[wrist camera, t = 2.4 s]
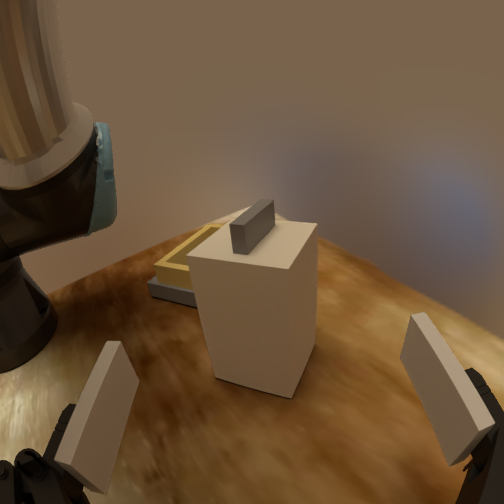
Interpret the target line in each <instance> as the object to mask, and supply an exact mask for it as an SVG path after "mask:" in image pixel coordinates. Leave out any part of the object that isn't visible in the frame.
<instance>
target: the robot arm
mask: <svg viewBox="0 0 504 504" xmlns="http://www.w3.org/2000/svg"><path fill="white" fill-rule="evenodd" d="M113 172H114V169H113V154H112V144H111V136H110V129H109V126H108V124H106V123H99V122H96V123H93V119H92V116H91V114H90V112H89V110H88V109H87V108H86V107H84V106H82V105H80V104H78V103H75V102H72V98H71V93H70V88H69V83H68V78H67V73H66V68H65V62H64V56H63V50H62V43H61V37H60V29H59V20H58V10H57V0H0V372H3V371H7V370H10V369H12V368H15V367H17V366H19V365H21V364H22V363H24V362H26V361H27V360H29V359H30V358H31V357H33V356H34V355H35V354H36V353H37V352H38V351H39V350H40V349H41V348H42V347H43V346H44V345H45V344H46V343H47V342H48V340H49V339H50V337H51V336H52V334H53V332H54V330H55V327H56V324H57V314H56V312H55V310H54V307H53V305H52V303H51V301H50V299H49V298H48V296H47V295H46V294H45V293H44V292H43V291H42V290H41V289H40V287H39V286H38V285H37V284H36V283H35V281H34V280H33V279H32V278H31V277H30V275H29V274H28V273H27V272H26V270H25V269H24V267H23V265H22V262H21V260H20V257H19V256H20V255H22V254H25V253H28V252H31V251H35V250H38V249H41V248H45V247H48V246H51V245H55V244H58V243H62V242H65V241H68V240H72V239H76V238H79V237H83V236H84V237H86V236H89V235H90V234H91V233H93V232H96V231H98V230H102V229H104V228H107V227H109V226H111V225H112V224H113V222H114V221H115V219H116V216H117V198H116V188H115V178H114V174H113ZM400 359H401V361H402V363H403V365H404V367H405V369H406V371H407V373H408V375H409V377H410V379H411V381H412V383H413V386H414V388H415V390H416V392H417V394H418V396H419V398H420V400H421V403H422V405H423V407H424V409H425V411H426V413H427V416H428V418H429V420H430V422H431V425H432V427H433V429H434V432H435V434H436V436H437V439H438V441H439V443H440V446H441V448H442V451H443V453H444V456H445V458H446V461H447V463H448V466H449V467H450V466H452V465H455V464H457V463H459V462H461V461H464V460H465V459H466V458H467V457H468V456H469V454H470V453H471V455H472V457H473V459H472V460H471V461H470V462H469V463H468V464H467V465H466V466H465V467H464V469H463V471H465V470H466V469H467V468H468V467H469V468H468V471H467V474H466V477H465V480H464V482H463V485H462V488H461V491H460V493H459V496H458V498H457V501H456V503H455V504H504V411H503V410H502V408H501V406H500V404H499V403H498V401H497V399H496V398H495V396H494V395H493V393H491V390H490V388H489V386H488V385H486V384H487V383H486V382H485V380H484V379H483V377H482V376H481V374H480V373H478V372H477V371H476V370H474V369H473V368H469V369H466V370H464V369H463V367H462V366H461V364H460V363H459V361H458V360H457V358H456V357H455V355H454V354H453V352H452V351H451V349H450V348H449V346H448V345H447V343H446V342H445V340H444V339H443V337H442V336H441V334H440V333H439V331H438V330H437V328H436V327H435V326H434V324H433V323H432V321H431V320H430V319H429V317H428V316H427V314H426V313H425V312H422V313H417V314H411V316H410V320H409V324H408V329H407V333H406V337H405V340H404V344H403V348H402V352H401V355H400ZM138 384H139V379H138V377H137V375H136V373H135V371H134V369H133V367H132V364H131V362H130V360H129V358H128V356H127V354H126V352H125V349H124V347H123V345H122V343H121V341H107V342H106V344H105V346H104V348H103V350H102V352H101V354H100V356H99V358H98V360H97V362H96V364H95V366H94V368H93V370H92V372H91V374H90V376H89V378H88V381H87V383H86V385H85V387H84V389H83V391H82V394H81V396H80V398H79V400H78V403H77V405H76V404H69V405H68V406H67V407H66V408H65V409H64V410H63V411H62V413H61V416H60V418H59V420H58V423H57V425H56V427H55V431H53V434H52V436H51V438H50V441H49V443H48V446H47V448H46V451H45V453H44V455H43V457H42V456H41V455H40V454H39V453H38V452H36V451H35V450H34V449H30V448H27V449H23V450H22V451H20V452H19V453H18V454H17V456H16V458H15V461H14V466H13V465H12V464H11V463H10V462H8V461H7V460H1V461H0V504H90V503H89V501H88V499H87V497H86V495H85V493H84V492H83V491H82V490H83V487H84V486H85V487H86V488H88V489H89V490H90V491H93V492H96V493H100V494H105V495H107V492H108V488H109V484H110V480H111V476H112V472H113V468H114V465H115V461H116V457H117V454H118V450H119V447H120V443H121V440H122V436H123V433H124V429H125V426H126V423H127V419H128V416H129V413H130V409H131V406H132V403H133V400H134V397H135V394H136V390H137V387H138Z"/></svg>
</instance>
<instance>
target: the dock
mask: <svg viewBox="0 0 504 504" xmlns="http://www.w3.org/2000/svg"><path fill="white" fill-rule="evenodd" d="M223 226H224V225H216V224H208V225H207V226H205V227H204V228H203V229H201V230H200V231H198V232H197V233H196V234H194V235H193V236H192V237H190V238H189V239H187V240H186V241H185V242H183V243H182V244H181V245H179V246H178V247H177V248H175V249H174V250H173V251H171V252H170V253H168V254H167V255H166V256H164V257H163V258H162V259H160V260H159V261H158V262H156V263H155V264H154V268H155V272H156V276H155V277H153V278H152V279H151V280H150V281H148V282H147V284H148V287H149V290H150V294H151V296H154V297H158V298H162V299H166V300H170V301H174V302H178V303H182V304H186V305H190V306H194V307H197V303H196V299H195V295H194V290H193V286H192V281H191V277H190V272H189V267H188V263H187V258H186V255H187V254H188V253H189V252H191V251H192V250H193V249H194V248H196V247H197V246H198V245H199V244H201V243H202V242H203V241H205V240H206V239H207V238H208V237H210V236H211V235H212V234H214V233H215V232H216V231H217V230H219V229H220V228H221V227H223Z"/></svg>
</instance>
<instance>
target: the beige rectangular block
mask: <svg viewBox="0 0 504 504" xmlns="http://www.w3.org/2000/svg"><path fill="white" fill-rule="evenodd" d="M186 258H187V263H188V267H189V272H190V277H191V281H192V286H193V290H194V295H195V299H196V303H197V308H198V312H199V316H200V320H201V324H202V328H203V332H204V336H205V340H206V344H207V348H208V352H209V356H210V360H211V364H212V367H213V371H214V375H215V377H216V378H219V379H223V380H226V381H229V382H232V383H236V384H239V385H242V386H246V387H249V388H253V389H256V390H260V391H264V392H267V393H271V394H275V395H279V396H283V397H287V398H291V399H292V396H293V394H294V392H295V390H296V387H297V385H298V383H299V381H300V378H301V376H302V374H303V371H304V369H305V367H306V364H307V362H308V359H309V357H310V355H311V352H312V350H313V347H314V345H315V340H316V314H317V265H318V234H317V224H315V223H304V222H291V221H278V220H275V212H274V200H264V199H261V200H259V201H258V202H257V203H256V204H254V205H253V206H252V207H250V208H249V209H248V210H247V211H245V212H244V213H243V214H241V215H240V216H239V217H238V218H235V217H234V218H233V219H232V220H230V221H229V222H228V223H226V224H225V225H224V226H223V227H221V228H220V229H219V230H217V231H216V232H215V233H214V234H212V235H211V236H210V237H208V238H207V239H206V240H205V241H203V242H202V243H201V244H199V245H198V246H197V247H196V248H194V249H193V250H192V251H191V252H189V253H188V254H187V255H186Z"/></svg>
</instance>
